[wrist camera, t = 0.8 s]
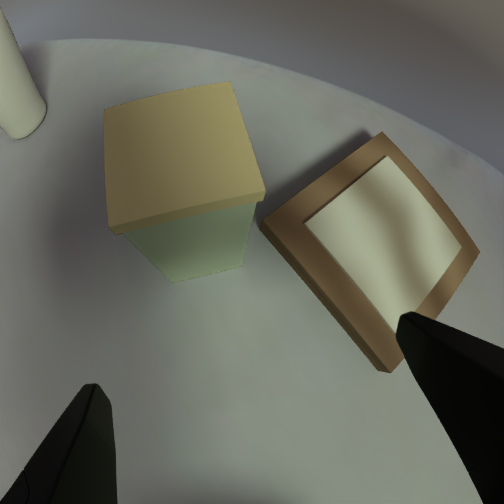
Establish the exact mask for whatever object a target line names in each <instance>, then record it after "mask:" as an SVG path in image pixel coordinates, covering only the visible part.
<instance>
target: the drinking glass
mask: <svg viewBox="0 0 504 504" xmlns="http://www.w3.org/2000/svg"><path fill="white" fill-rule="evenodd" d="M45 113H46V104H45V102H44V100H43V98H42V97H41V95H40V94H39V92H38V90H37V88H36V86H35V83H34V81H33V79H32V77H31V75H30V73H29V70H28V68H27V66H26V63H25V61H24V59H23V56H22V54H21V51H20V49H19V46H18V44H17V41H16V39H15V36H14V34H13V32H12V30H11V27H10V25H9V23H8V21H7V19H6V17H5V15H4V13H3V12H2V10H1V8H0V128H1V129H2V130H3V131H4V132H5V133H6V134H7V135H8V136H9V137H10V138H12V139H22V138H24V137H26V136H28V135H29V134H31V133H32V132H33V131H34V130H35V129H36V128H37V127H38V126H39V125H40V123H41V122H42V120H43V118H44V116H45Z"/></svg>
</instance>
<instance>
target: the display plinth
mask: <svg viewBox="0 0 504 504" xmlns="http://www.w3.org/2000/svg"><path fill="white" fill-rule="evenodd" d="M260 231H261V232H262V233H263V234H264V235H265V236H266V238H267V239H268V240H269V241H270V242H271V243H272V245H273V246H274V247H275V248H276V249H277V250H278V252H279V253H280V254H281V255H282V256H283V257H284V259H285V260H286V261H287V262H288V263H289V264H290V266H291V267H292V268H293V269H294V270H295V271H296V273H297V274H298V275H299V276H300V277H301V279H302V280H303V281H304V282H305V283H306V284H307V286H308V287H309V288H310V289H311V290H312V292H313V293H314V294H315V295H316V296H317V297H318V299H319V300H320V301H321V302H322V303H323V305H324V306H325V307H326V308H327V309H328V311H329V312H330V313H331V314H332V315H333V317H334V318H335V319H336V320H337V321H338V323H339V324H340V325H341V326H342V327H343V329H344V330H345V331H346V332H347V333H348V335H349V336H350V337H351V338H352V340H353V341H354V342H355V343H356V344H357V346H358V347H359V348H360V349H361V350H362V352H363V353H364V354H365V355H366V357H367V358H368V359H369V360H370V361H371V363H372V364H373V365H374V366H375V368H376V369H377V370H378V371H382V372H387V373H391V372H392V371H393V370H394V369H395V368H396V367H397V366H398V365H399V363H400V362H401V361H402V360H403V359H404V358H405V357H404V355H403V353H402V351H401V349H400V347H399V345H398V343H397V341H396V335H395V334H396V330H397V325H398V321H399V317H400V316H401V315H402V314H404V313H406V312H409V311H414V312H416V313H419V314H421V315H424V316H426V317H429V318H431V319H433V320H435V319H436V318H437V316H438V315H439V314H440V312H441V311H442V310H443V308H444V307H445V305H446V304H447V303H448V301H449V300H450V298H451V297H452V295H453V294H454V292H455V291H456V289H457V288H458V287H459V285H460V283H461V282H462V280H463V279H464V277H465V276H466V274H467V273H468V271H469V269H470V268H471V266H472V265H473V263H474V261H475V260H476V258H477V256H478V255H479V253H480V251H479V249H478V248H477V246H476V245H475V243H474V242H473V240H472V239H471V237H470V236H469V235H468V233H467V232H466V230H465V229H464V227H463V226H462V225H461V223H460V222H459V221H458V219H457V218H456V216H455V215H454V214H453V212H452V211H451V210H450V208H449V207H448V206H447V205H446V203H445V202H444V201H443V199H442V198H441V197H440V196H439V194H438V193H437V192H436V191H435V189H434V188H433V187H432V186H431V185H430V183H429V182H428V181H427V180H426V179H425V177H424V176H423V175H422V174H421V173H420V172H419V170H418V169H417V168H416V167H415V166H414V165H413V164H412V163H411V161H410V160H409V159H408V158H407V157H406V156H405V155H404V154H403V153H402V152H401V151H400V149H399V148H398V147H397V146H396V145H395V144H394V143H393V142H392V141H391V140H390V139H389V138H388V137H387V136H386V135H385V134H384V133H383V132H381V133H379V134H378V135H376V136H375V137H374V138H372V139H371V140H370V141H368V142H367V143H365V144H364V145H363V146H361V147H360V148H359V149H357V150H356V151H354V152H353V153H352V154H350V155H349V156H348V157H346V158H345V159H344V160H342V161H341V162H339V163H338V164H337V165H335V166H334V167H333V168H331V169H330V170H329V171H327V172H326V173H325V174H323V175H322V176H320V177H319V178H318V179H316V180H315V181H314V182H312V183H311V184H310V185H308V186H307V187H306V188H304V189H303V190H302V191H300V192H299V193H298V194H296V195H295V196H294V197H292V198H291V199H290V200H288V201H287V202H286V203H284V204H283V205H282V206H280V207H279V208H278V209H276V210H275V211H274V212H272V213H271V214H270V215H268V216H267V217H266V218H264V219H263V220H262V223H261V227H260Z"/></svg>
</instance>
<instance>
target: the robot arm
mask: <svg viewBox="0 0 504 504" xmlns="http://www.w3.org/2000/svg"><path fill="white" fill-rule="evenodd" d="M395 335H396V341H397V343H398V345H399V347H400V349H401V351H402V353H403V355H404V357H405V359H406V361H407V363H408V366H409V368H410V370H411V372H412V374H413V376H414V378H415V380H416V381H417V383H418V385H419V386H420V388H421V390H422V391H423V393H424V395H425V396H426V398H427V400H428V401H429V403H430V405H431V406H432V408H433V410H434V411H435V413H436V415H437V417H438V418H439V420H440V422H441V424H442V425H443V427H444V429H445V431H446V432H447V434H448V436H449V438H450V440H451V441H452V443H453V445H454V447H455V449H456V450H457V452H458V454H459V456H460V458H461V460H462V462H463V464H464V465H465V467H466V469H467V471H468V472H469V473H468V474H469V476H470V477H471V479H472V481H473V483H474V485H475V487H476V489H477V491H478V494H479V496H480V498H481V500H482V502H483V504H504V348H501V347H499V346H496V345H494V344H492V343H489V342H487V341H484V340H482V339H479V338H477V337H475V336H472V335H470V334H467V333H465V332H463V331H460V330H458V329H455V328H453V327H450V326H448V325H446V324H443V323H441V322H438V321H436V320H433V319H431V318H429V317H426V316H424V315H421V314H419V313H416V312H414V311H409V312H406V313H404V314H402V315H401V316H400V317H399V321H398V325H397V330H396V334H395ZM0 504H118V503H117V483H116V450H115V440H114V430H113V418H112V406H111V403H110V400H109V399H108V397H107V396H106V394H105V393H104V391H103V390H102V388H101V387H100V386H99V385H98V384H96V383H94V384H85V385H84V386H83V387H82V388H81V390H80V391H79V392H78V393H77V395H76V396H75V397H74V399H73V400H72V401H71V403H70V404H69V405H68V407H67V408H66V410H65V411H64V412H63V414H62V415H61V416H60V418H59V419H58V420H57V422H56V423H55V425H54V426H53V427H52V429H51V430H50V432H49V433H48V434H47V436H46V437H45V439H44V440H43V441H42V443H41V444H40V446H39V447H38V448H37V450H36V451H35V453H34V454H33V456H32V457H31V459H30V460H29V462H28V463H27V464H26V466H25V467H24V470H22V472H21V473H20V475H19V476H18V478H17V479H16V481H15V482H14V483H13V485H12V486H11V488H10V489H9V491H8V492H7V493H6V494H5V496H4V497H3V498H2V500H1V501H0Z"/></svg>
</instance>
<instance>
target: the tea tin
mask: <svg viewBox="0 0 504 504" xmlns="http://www.w3.org/2000/svg"><path fill="white" fill-rule="evenodd" d="M104 170H105V189H106V203H107V215H108V226H109V228H110V229H111V230H112V231H113V232H114V233H115V234H116V235H118V234H122V233H123V234H124V235H125V236H126V237H127V238H128V239H129V240H130V241H131V242H132V243H133V244H134V245H135V246H136V247H137V248H138V249H139V250H140V252H141V253H142V254H143V255H144V256H145V257H146V258H147V259H148V260H149V261H150V262H151V263H152V264H153V265H154V266H155V267H156V268H157V269H158V270H159V271H160V272H161V273H163V274H164V275H165V276H166V277H167V278H168V279H169V280H170V281H171V282H172V283H175V282H180V281H184V280H188V279H193V278H197V277H201V276H205V275H210V274H214V273H218V272H222V271H226V270H231V269H235V268H239V267H242V262H243V258H244V254H245V250H246V245H247V241H248V237H249V233H250V228H251V224H252V220H253V216H254V212H255V207H256V203H257V202H259V201H263V199H264V196H265V192H266V190H265V186H264V183H263V180H262V177H261V174H260V171H259V167H258V164H257V161H256V158H255V155H254V152H253V149H252V146H251V143H250V140H249V136H248V133H247V130H246V127H245V124H244V121H243V118H242V115H241V112H240V109H239V106H238V103H237V100H236V97H235V95H234V92H233V89H232V86H231V83H230V81H229V82H222V83H216V84H210V85H204V86H198V87H193V88H187V89H182V90H177V91H173V92H168V93H164V94H159V95H155V96H151V97H147V98H143V99H139V100H135V101H132V102H128V103H124V104H121V105H118V106H114V107H111V108H108V109H104Z"/></svg>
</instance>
